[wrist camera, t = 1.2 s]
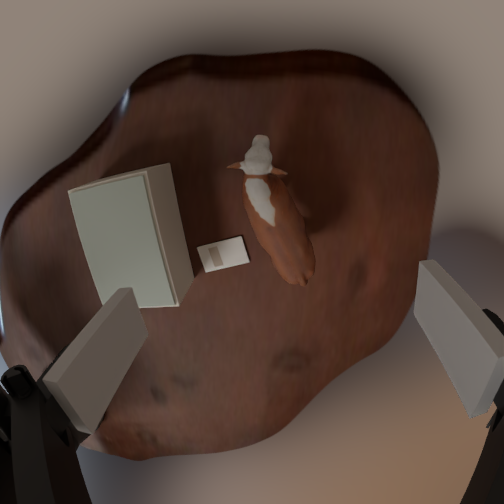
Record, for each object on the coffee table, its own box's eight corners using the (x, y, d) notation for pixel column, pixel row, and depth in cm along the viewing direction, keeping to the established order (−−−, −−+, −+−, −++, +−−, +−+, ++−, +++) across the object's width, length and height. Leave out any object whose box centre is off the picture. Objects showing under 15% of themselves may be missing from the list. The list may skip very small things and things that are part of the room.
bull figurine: (273, 130, 28) (272, 129, 20) (315, 254, 32) (325, 292, 25) (231, 145, 29) (214, 150, 21) (276, 266, 33) (275, 307, 26)
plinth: (126, 283, 36) (102, 310, 30) (98, 179, 31) (65, 191, 25) (194, 278, 34) (178, 307, 29) (169, 162, 30) (145, 171, 24)
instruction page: (206, 271, 34) (205, 272, 34) (197, 247, 33) (196, 247, 33) (249, 261, 33) (249, 262, 33) (241, 235, 32) (241, 236, 32)
